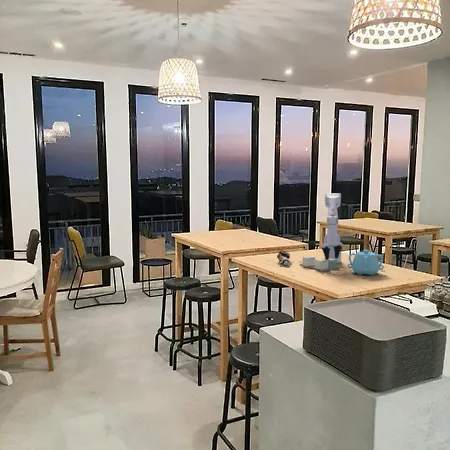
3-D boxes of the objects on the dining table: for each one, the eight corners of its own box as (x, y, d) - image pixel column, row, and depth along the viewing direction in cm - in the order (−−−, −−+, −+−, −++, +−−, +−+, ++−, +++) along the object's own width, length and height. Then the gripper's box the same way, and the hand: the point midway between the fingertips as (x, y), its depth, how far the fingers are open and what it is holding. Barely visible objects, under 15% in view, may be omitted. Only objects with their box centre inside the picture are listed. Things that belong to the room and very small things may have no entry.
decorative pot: (386, 275, 254) (387, 251, 252) (362, 277, 248) (363, 253, 247) (367, 269, 269) (368, 246, 268) (344, 271, 263) (345, 248, 262)
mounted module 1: (310, 263, 282) (310, 255, 281) (315, 265, 278) (315, 256, 277) (302, 264, 279) (302, 256, 278) (307, 266, 275) (307, 257, 274)
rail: (305, 264, 284) (305, 262, 284) (330, 270, 265) (330, 269, 265) (299, 265, 282) (299, 263, 282) (323, 271, 263) (323, 270, 263)
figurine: (284, 257, 277) (279, 247, 291) (277, 267, 279) (272, 257, 293) (296, 263, 279) (291, 253, 293) (289, 274, 281) (284, 263, 295)
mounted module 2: (322, 267, 272) (323, 258, 271) (328, 268, 268) (328, 259, 267) (315, 268, 269) (315, 259, 268) (320, 269, 265) (320, 261, 264)
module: (331, 267, 276) (331, 258, 275) (336, 268, 271) (337, 259, 271) (326, 268, 274) (326, 258, 273) (331, 269, 269) (332, 260, 269)
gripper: (327, 237, 263) (327, 261, 265) (346, 236, 270) (345, 258, 272) (319, 236, 269) (318, 259, 271) (337, 234, 276) (337, 256, 278)
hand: (331, 258), depth 272 cm, fingers open, 7 cm apart
